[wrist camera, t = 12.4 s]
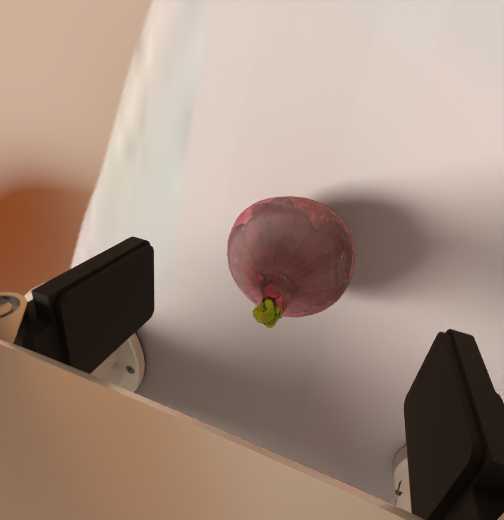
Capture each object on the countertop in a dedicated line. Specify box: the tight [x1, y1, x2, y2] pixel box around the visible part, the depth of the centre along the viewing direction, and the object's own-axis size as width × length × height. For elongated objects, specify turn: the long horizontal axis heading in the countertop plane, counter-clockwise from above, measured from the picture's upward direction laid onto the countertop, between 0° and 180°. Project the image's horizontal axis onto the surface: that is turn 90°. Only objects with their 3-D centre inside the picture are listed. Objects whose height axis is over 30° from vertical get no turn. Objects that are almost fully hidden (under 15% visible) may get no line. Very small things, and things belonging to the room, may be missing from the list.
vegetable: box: [227, 196, 355, 328], centre depth 15 cm, size 6×6×10 cm
